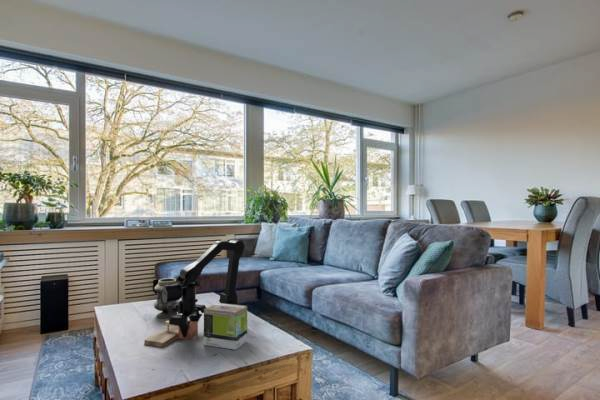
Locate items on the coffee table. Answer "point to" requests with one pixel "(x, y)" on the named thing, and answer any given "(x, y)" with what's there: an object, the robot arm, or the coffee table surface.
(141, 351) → the coffee table surface
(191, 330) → the terracotta strapped cube
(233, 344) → the tea box
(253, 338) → the coffee table surface
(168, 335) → the board
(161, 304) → the apothecary jar
